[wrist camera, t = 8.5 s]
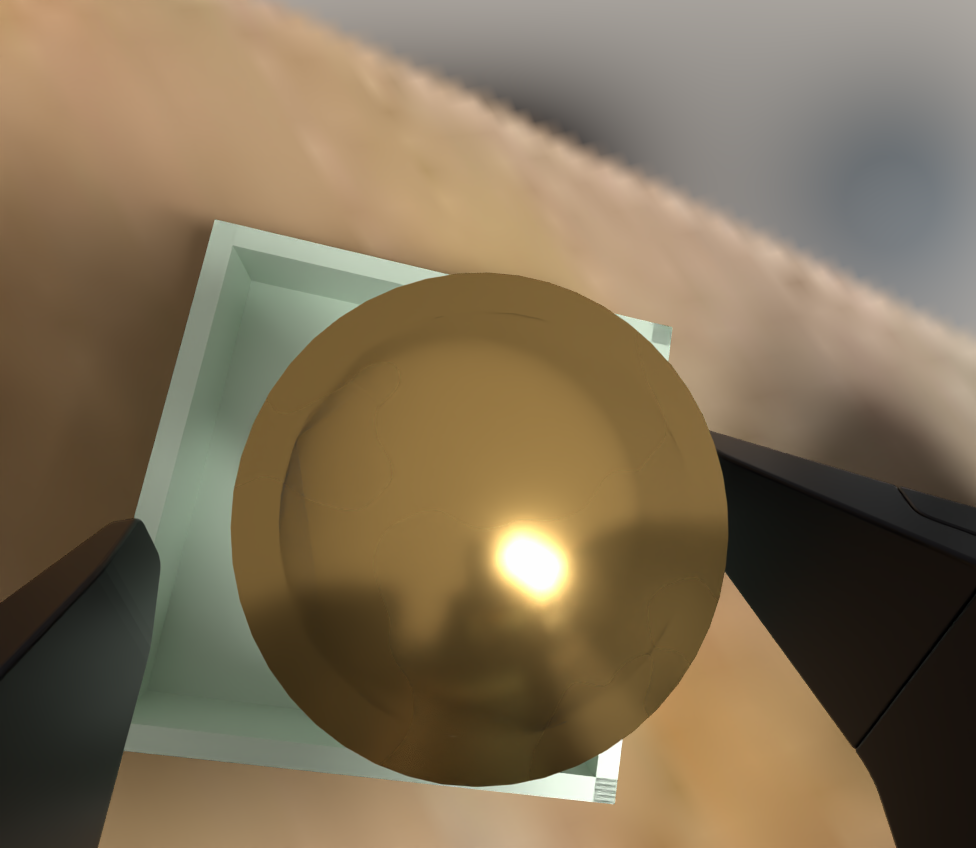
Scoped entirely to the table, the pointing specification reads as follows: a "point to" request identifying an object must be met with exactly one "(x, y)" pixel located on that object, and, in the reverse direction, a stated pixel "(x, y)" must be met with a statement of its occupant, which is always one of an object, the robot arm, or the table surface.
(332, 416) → the grey metal cylinder
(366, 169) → the table surface
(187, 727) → the green tray
